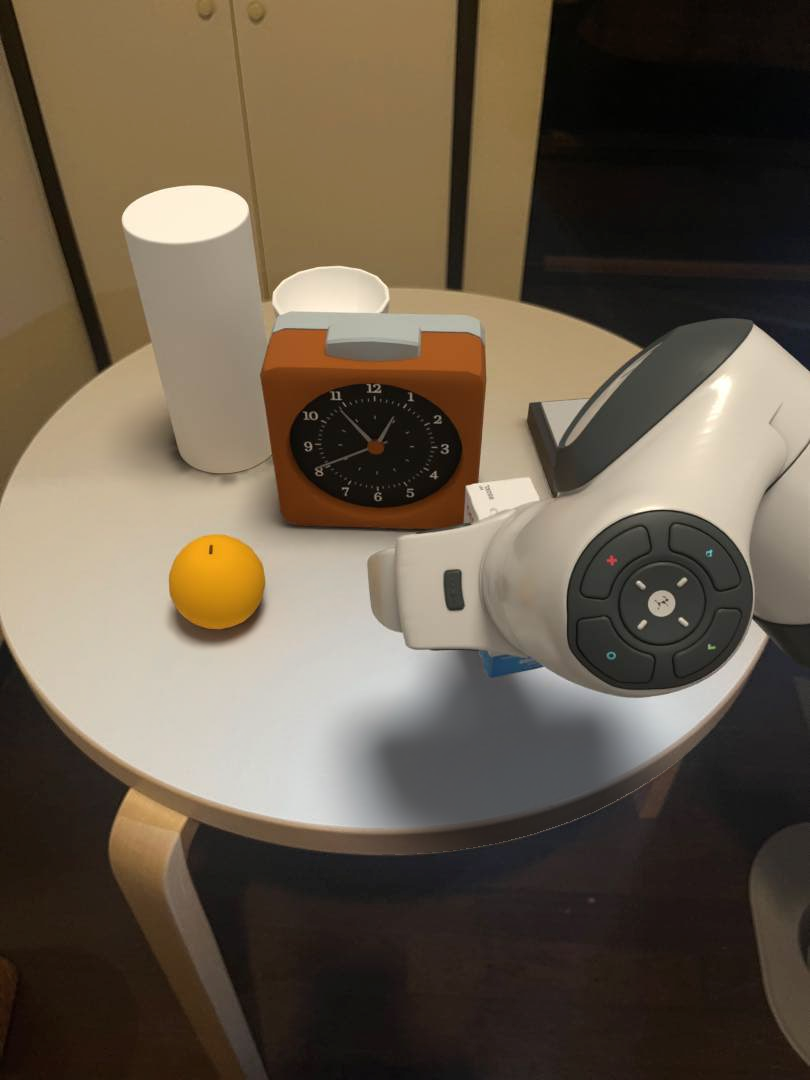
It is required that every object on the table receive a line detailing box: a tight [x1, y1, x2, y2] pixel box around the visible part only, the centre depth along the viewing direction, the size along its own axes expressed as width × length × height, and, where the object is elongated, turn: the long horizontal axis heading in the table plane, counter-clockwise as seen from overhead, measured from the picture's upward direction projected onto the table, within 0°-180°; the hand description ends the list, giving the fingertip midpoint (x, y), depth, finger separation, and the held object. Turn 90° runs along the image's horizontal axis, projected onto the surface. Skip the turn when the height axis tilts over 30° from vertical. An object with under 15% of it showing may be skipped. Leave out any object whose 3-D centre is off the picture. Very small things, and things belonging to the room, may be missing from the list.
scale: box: [526, 397, 591, 498], centre depth 88 cm, size 14×13×3 cm
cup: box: [271, 265, 391, 320], centre depth 94 cm, size 12×12×11 cm
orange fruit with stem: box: [168, 533, 266, 630], centre depth 73 cm, size 8×8×8 cm
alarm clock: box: [260, 311, 487, 530], centre depth 77 cm, size 18×9×21 cm, turn 87°
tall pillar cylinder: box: [121, 184, 272, 474], centre depth 82 cm, size 11×11×25 cm
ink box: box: [464, 476, 545, 679], centre depth 61 cm, size 8×5×12 cm, turn 12°
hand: (506, 566), depth 61 cm, fingers closed on ink box, 5 cm apart
